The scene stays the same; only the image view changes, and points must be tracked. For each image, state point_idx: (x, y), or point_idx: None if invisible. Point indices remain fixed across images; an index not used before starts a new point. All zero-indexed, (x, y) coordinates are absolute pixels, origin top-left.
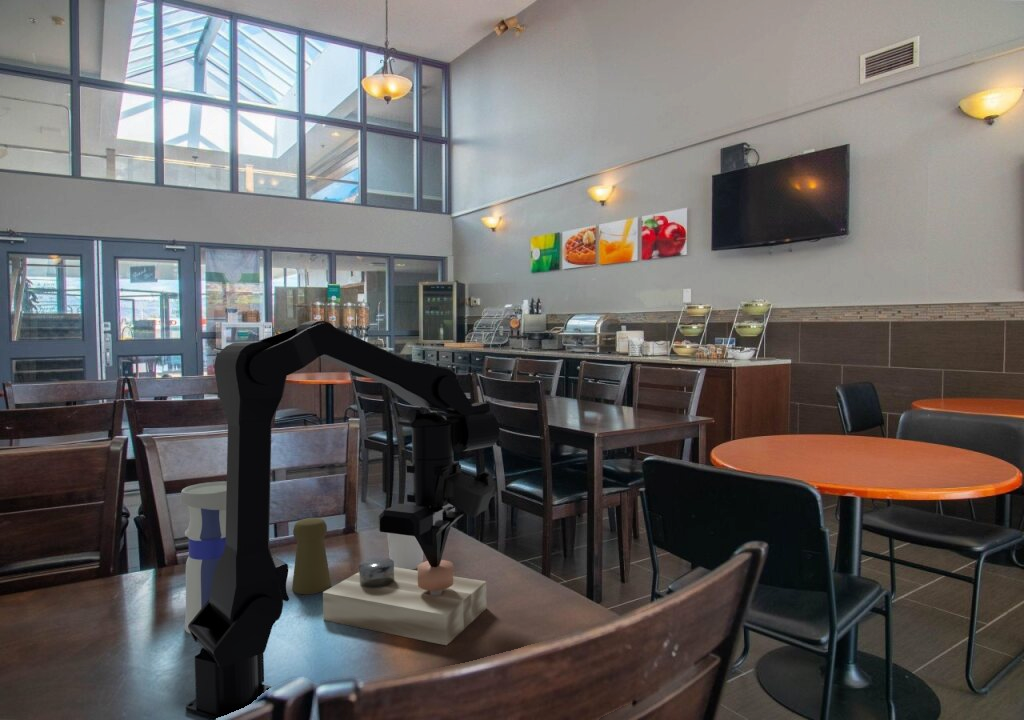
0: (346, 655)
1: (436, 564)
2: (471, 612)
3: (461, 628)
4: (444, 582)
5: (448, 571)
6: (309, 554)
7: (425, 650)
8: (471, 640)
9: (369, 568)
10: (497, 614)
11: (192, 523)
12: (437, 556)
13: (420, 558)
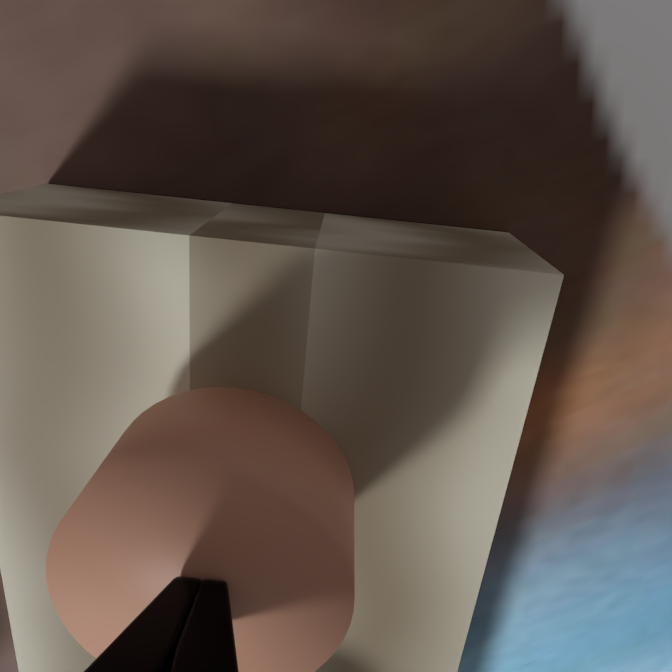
0: (641, 565)
1: (228, 600)
2: (222, 211)
3: (349, 218)
4: (299, 436)
5: (245, 465)
6: None
7: (567, 309)
8: (429, 124)
9: None
10: (88, 89)
11: None
12: (227, 664)
13: None
